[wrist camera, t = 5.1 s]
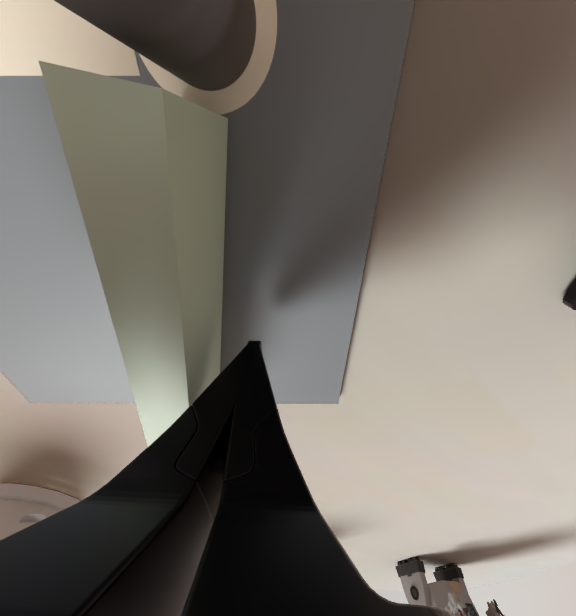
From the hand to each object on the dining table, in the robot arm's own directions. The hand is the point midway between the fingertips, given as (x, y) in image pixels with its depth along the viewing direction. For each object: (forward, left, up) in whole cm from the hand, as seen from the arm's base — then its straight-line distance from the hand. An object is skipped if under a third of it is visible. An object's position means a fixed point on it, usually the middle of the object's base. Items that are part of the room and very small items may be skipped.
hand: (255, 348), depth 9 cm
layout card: (+5, -9, -2) cm, 11 cm away
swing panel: (+2, -1, -1) cm, 3 cm away
